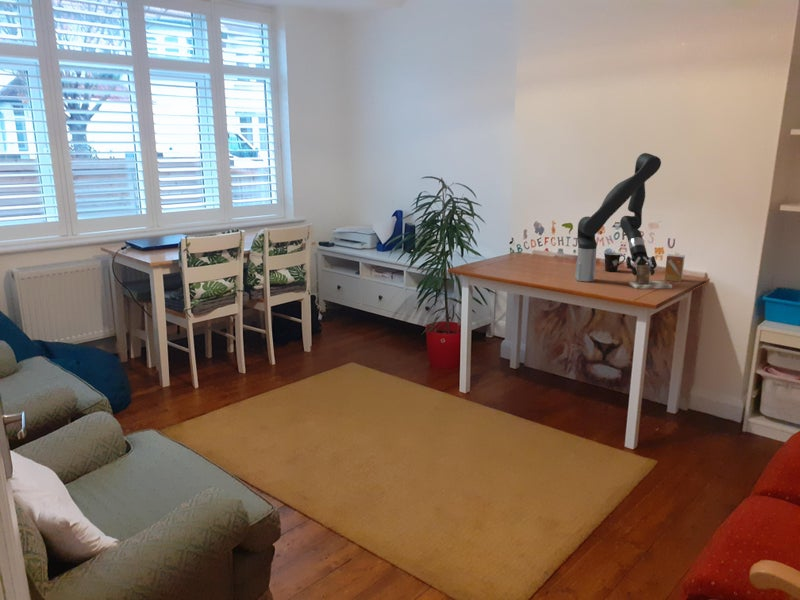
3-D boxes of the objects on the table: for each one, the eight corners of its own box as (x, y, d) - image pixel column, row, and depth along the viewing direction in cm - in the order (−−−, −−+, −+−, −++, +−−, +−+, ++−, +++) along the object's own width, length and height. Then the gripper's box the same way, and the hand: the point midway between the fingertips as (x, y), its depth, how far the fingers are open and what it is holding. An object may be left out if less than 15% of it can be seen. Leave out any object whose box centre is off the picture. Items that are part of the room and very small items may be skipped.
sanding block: (639, 284, 310) (641, 266, 308) (635, 282, 315) (637, 264, 313) (648, 284, 310) (650, 266, 308) (644, 282, 315) (646, 264, 313)
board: (636, 288, 308) (636, 285, 308) (628, 284, 318) (628, 281, 318) (672, 288, 308) (672, 285, 308) (663, 283, 318) (663, 280, 318)
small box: (664, 280, 326) (666, 255, 323) (665, 277, 332) (668, 253, 328) (680, 281, 322) (683, 257, 319) (682, 279, 328) (684, 255, 324)
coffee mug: (603, 272, 347) (605, 254, 345) (602, 269, 355) (603, 251, 353) (625, 273, 345) (627, 255, 342) (624, 269, 353) (625, 252, 350)
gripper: (625, 244, 315) (632, 270, 307) (653, 243, 315) (661, 270, 307) (621, 252, 322) (627, 278, 313) (648, 252, 322) (655, 278, 314)
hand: (644, 274), depth 310 cm, fingers open, 8 cm apart
